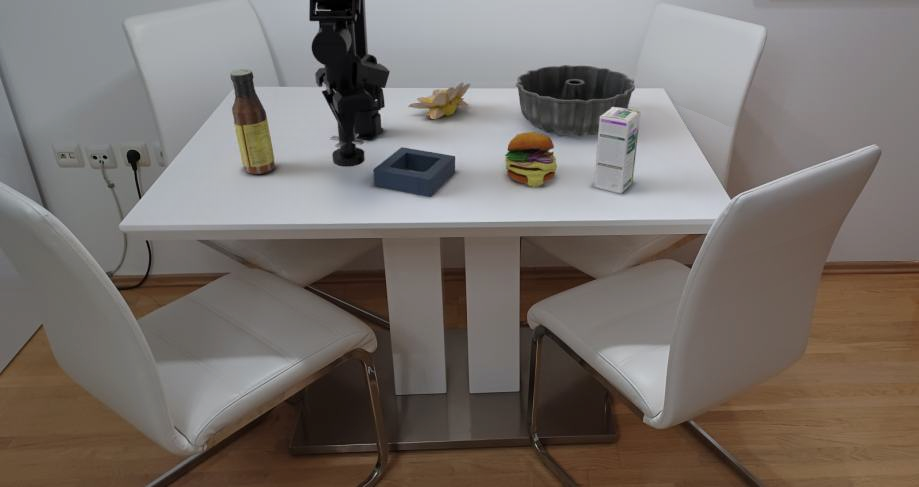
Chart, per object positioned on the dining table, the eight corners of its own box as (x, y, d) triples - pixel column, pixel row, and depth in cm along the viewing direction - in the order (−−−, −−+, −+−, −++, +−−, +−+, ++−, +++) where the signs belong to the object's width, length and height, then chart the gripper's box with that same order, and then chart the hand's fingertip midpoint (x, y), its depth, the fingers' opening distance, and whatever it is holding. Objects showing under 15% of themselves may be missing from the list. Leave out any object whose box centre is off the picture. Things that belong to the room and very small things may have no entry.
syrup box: (621, 194, 134) (631, 120, 126) (592, 187, 136) (599, 114, 129) (632, 183, 138) (642, 110, 130) (603, 176, 140) (611, 105, 133)
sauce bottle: (281, 165, 145) (268, 68, 135) (264, 177, 140) (249, 78, 130) (253, 161, 147) (238, 65, 137) (236, 173, 142) (218, 74, 132)
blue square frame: (374, 186, 137) (373, 169, 135) (402, 162, 146) (401, 146, 145) (430, 196, 133) (429, 179, 131) (455, 172, 142) (455, 155, 141)
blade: (324, 164, 135) (319, 113, 130) (342, 151, 140) (338, 102, 135) (355, 169, 133) (351, 118, 128) (372, 156, 138) (369, 106, 133)
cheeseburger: (508, 189, 135) (507, 136, 132) (501, 178, 145) (500, 129, 143) (561, 186, 136) (561, 133, 133) (550, 176, 146) (550, 126, 143)
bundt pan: (499, 135, 159) (500, 92, 154) (532, 99, 180) (534, 59, 175) (618, 152, 151) (624, 106, 146) (638, 111, 172) (643, 70, 167)
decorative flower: (447, 91, 180) (451, 55, 173) (479, 112, 174) (484, 75, 168) (402, 110, 171) (404, 73, 164) (434, 132, 166) (438, 95, 159)
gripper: (399, 58, 121) (403, 144, 129) (369, 32, 136) (374, 111, 144) (334, 65, 117) (342, 154, 125) (310, 38, 132) (319, 118, 140)
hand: (346, 133), depth 134 cm, fingers closed on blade, 3 cm apart
